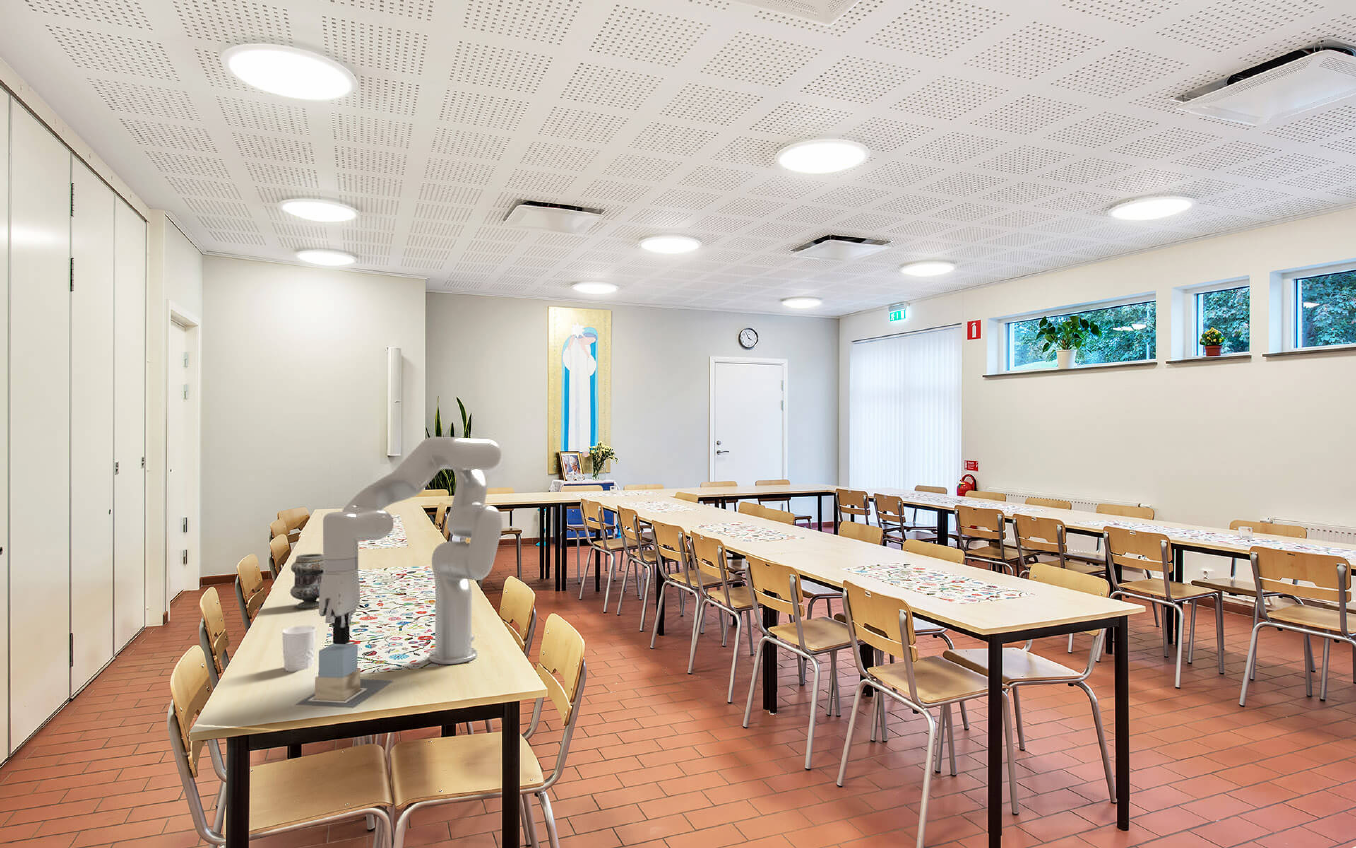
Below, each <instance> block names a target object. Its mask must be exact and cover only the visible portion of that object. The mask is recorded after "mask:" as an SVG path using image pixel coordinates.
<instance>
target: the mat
mask: <svg viewBox="0 0 1356 848" xmlns="http://www.w3.org/2000/svg"><path fill="white" fill-rule="evenodd" d="M393 682H394V680H388V679H387V680H385V679H370V678H369V679H367V678H365V679H364V678H360V691H358V692H357V693H355V694H354V695H352V696H351V697H349V698H347V699H346V700H344V701H336V700H318V699H315V692H314V693H313V694H310V695H309V696H307V697H305V698H304V699H302V700H300V701H298V702H297V703H295V706H296V705H297V706H312V707H314V706H317V707H331V708H332V707H334V708H351V709H353V708H355V707H357V706H359V705H360V704H361V703H364V702H365V701H366V700H368V699H369V698H371V697H372V696H373V695H375V694H377V693H378V692H379V691H381V690H383V689H384V688H385V687H387V686H388V685H390V684H392V683H393Z"/></svg>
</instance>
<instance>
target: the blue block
mask: <svg viewBox="0 0 1356 848" xmlns="http://www.w3.org/2000/svg"><path fill="white" fill-rule="evenodd" d="M358 646H359V645H358V644H356V643H346V644H334V643H332V644H330V645H327V646H325V647H324V648H322V649H320V650H318V676H319V677H332V678H344V677H346V676H347V675H349V674H351V673H353V672H354V671H356V670H357V669H358V664H359V663H358V658H359V657H358Z"/></svg>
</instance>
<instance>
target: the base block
mask: <svg viewBox="0 0 1356 848" xmlns="http://www.w3.org/2000/svg"><path fill="white" fill-rule="evenodd" d="M360 679H361V669H358V668H357V670H356V671H354V672H353V673H351V674H349V675H347V676H346V677H344V678H332V677H319V675H317V676H315V677H314V693H315V699H318V700H336V701H344V700H346V699H347V698H349V697H351V696H352V695H354V694H355V693H357V692H358V691H360Z"/></svg>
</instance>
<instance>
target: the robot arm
mask: <svg viewBox="0 0 1356 848" xmlns="http://www.w3.org/2000/svg"><path fill="white" fill-rule="evenodd" d="M501 457H502V451H501V448H500V446H499V445H498V443H497V442H495V441H494V440H493V439H488V438H468V437H467V438H466V437H457V436H456V437H455V436H431V437H428V438H425V439H424V440H423V441H421V442H420V444H418V446H417V447H416V448H415V449H414V450H412V451H411V453H410V454H409V455H408V456H407V457H406V458H405V459H404V460H403V461H402V463H400V464H399V466H397V468H395V469H394V471H392V472H391V473H389V474H386V475H385V476H383V477H382V478H380V479H379V480H377V481H375V482H373V483H372V484H370V485H368V486H367V487H365V488H364V489H362V490H361V491H360V492H358V493H357V494H356V496H354V497H353V498H352V499H351V500H350V502H348V503H347V505H346V506H345V507H344V508H343V509H342V510H341V511H334V512H329V513H326V514H325V515H324V517H323V519H322V551H323V552H322V554H323V573H324V574H322V578H321V584H320V595H319V598H318V601H319V608H318V616H320V617H325V621H324V622H325V624H331V625H330V626H331V628H332V644H349V643H350V632H351V631H350V625H351V624H352V616H353V615H354V614H355V613H356V612H357V609H358V608H359V606H360V604H361V603H360V600H361V589H360V588H361V586H360V585H361V584H360V576H359V542H360V541H378V540H382V539H384V538H386V537H387V536H389V535H390V534H391V532H392V531H393V530H394V529H393V528H394V526H395V525H394V519H393V516H392V514H390V513H389V512H388V511H386V510H384V509H385V508H387V507H388V506H391V505H393V504H395V503H396V504H397V503H399V502H403V501H406V500H409V499H411V498H414V497H416V496H418V495H419V494H420V493H422V491H423V490H424V489H425V488H426V487H427V486H428V484H430V483H431V481H432V480H433V479H434V478H435V476H437V475H438V473H440V471H442V470H452V471H453V473H454V475H455V480H456V482H455V484H456V485H455V491H454V494H453V495H454V496H453V499H452V504H451V506H450V509H449V510H450V511H449V514H448V518H447V530H448V532H449V533H450V534H451V535H453V536H456V537H458V538H465V539H470V541H469V542H464V541H454V540H452V541H451V540H450V541H445V542H442V543H440V544H439V545H437V546H436V548H435V549H434V550H433V553H432V556H431V568H432V572H433V577H434V584H435V585H434V586H435V588H434V589H435V590H434V591H435V601H434V604H435V606H434V610H435V611H434V612H435V613H434V614H435V615H434V616H435V618H434V619H435V620H434V625H435V626H434V628H435V630H434V650H433V651H432V652H430V653H429V655H428V660H429V661H430V662H432V663H433V664H438V665H439V664H441V665H455V664H461V663H467V662H469V661H472V660H474V659H476V657H477V656H478V651H477V649H475V648H473V647H472V642H473V641H474V640H475V636H474V634H472V618H473V617H472V615H473V614H472V610H473V609H472V608H473V607H472V605H473V603H472V601H473V600H472V599H473V597H472V596H473V594H472V593H473V592H472V587H471V586H472V585H471V583H470V581H469V580H471V581H480V580H484V579H485V578H486V577H487V576H488V575H489V574H490V573H491V571H492V568H493V566H494V563H495V559H496V555H497V550H498V548H499V543H500V540H501V539H500V538H501V535H502V530H503V518H502V515H501V512H500V510H498V508H497V507H495V506H493V505H491V504H485V503H486V498H487V494H488V493H487V492H488V482H487V478H486V476H485V473H484V471H490V470H493V469H494V468H496V466H497V465H498V464H499V463H500V462H501V461H500V460H501Z"/></svg>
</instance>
